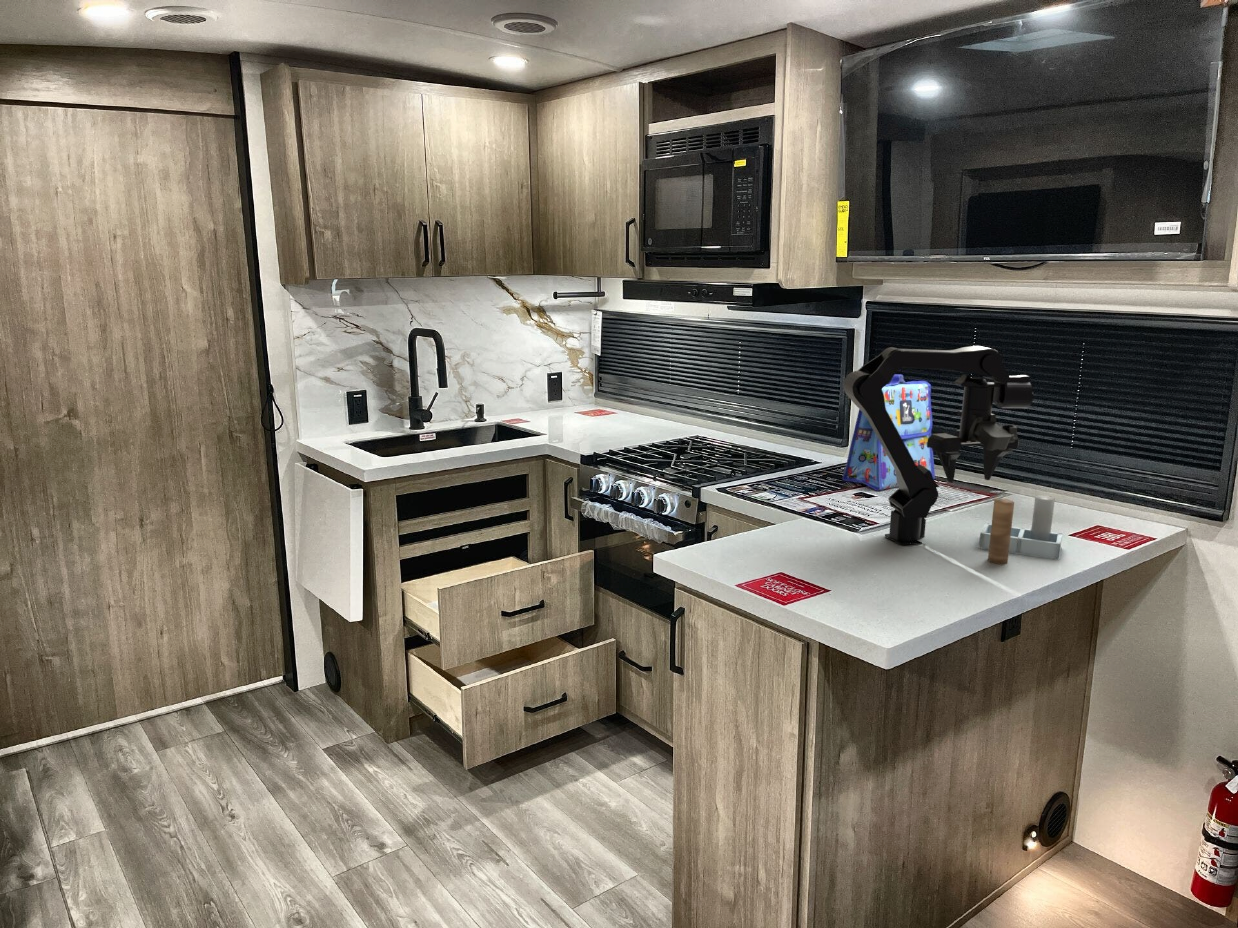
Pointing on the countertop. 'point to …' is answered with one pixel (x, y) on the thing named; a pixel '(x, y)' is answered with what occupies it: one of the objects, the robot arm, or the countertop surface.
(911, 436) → the lunch bag
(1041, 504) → the grey peg
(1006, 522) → the walnut peg
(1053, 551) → the slot rack
